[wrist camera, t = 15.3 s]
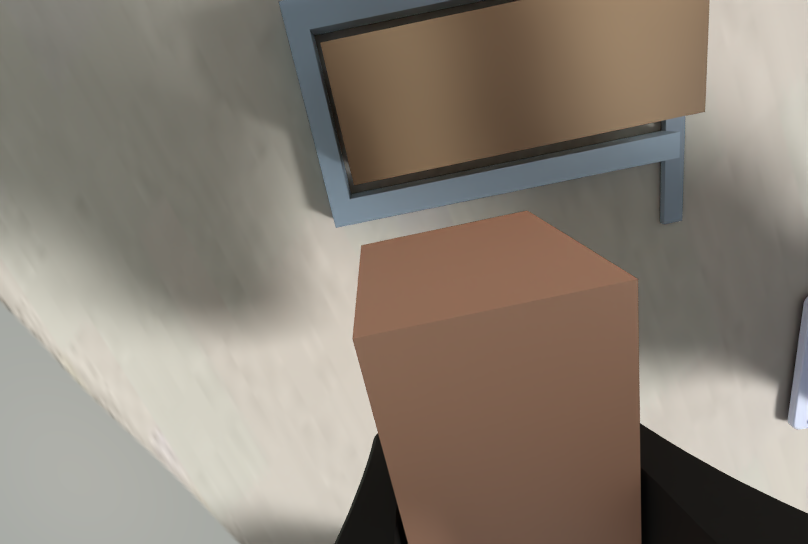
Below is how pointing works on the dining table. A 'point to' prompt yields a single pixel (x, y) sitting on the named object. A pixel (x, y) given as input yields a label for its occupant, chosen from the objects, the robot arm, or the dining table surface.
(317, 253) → the dining table surface
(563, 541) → the pinkish tan block
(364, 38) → the wooden block on base
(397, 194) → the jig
